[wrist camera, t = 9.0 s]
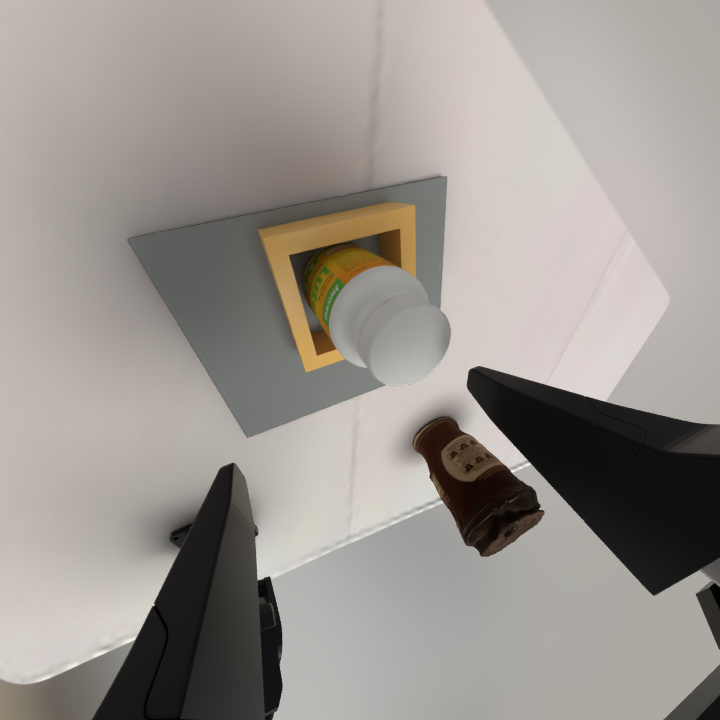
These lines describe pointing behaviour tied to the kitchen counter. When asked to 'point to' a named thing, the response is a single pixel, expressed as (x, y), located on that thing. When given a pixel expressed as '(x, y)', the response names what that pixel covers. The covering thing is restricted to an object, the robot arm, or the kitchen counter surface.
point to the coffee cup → (477, 488)
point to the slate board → (272, 302)
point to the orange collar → (323, 231)
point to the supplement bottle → (375, 313)
